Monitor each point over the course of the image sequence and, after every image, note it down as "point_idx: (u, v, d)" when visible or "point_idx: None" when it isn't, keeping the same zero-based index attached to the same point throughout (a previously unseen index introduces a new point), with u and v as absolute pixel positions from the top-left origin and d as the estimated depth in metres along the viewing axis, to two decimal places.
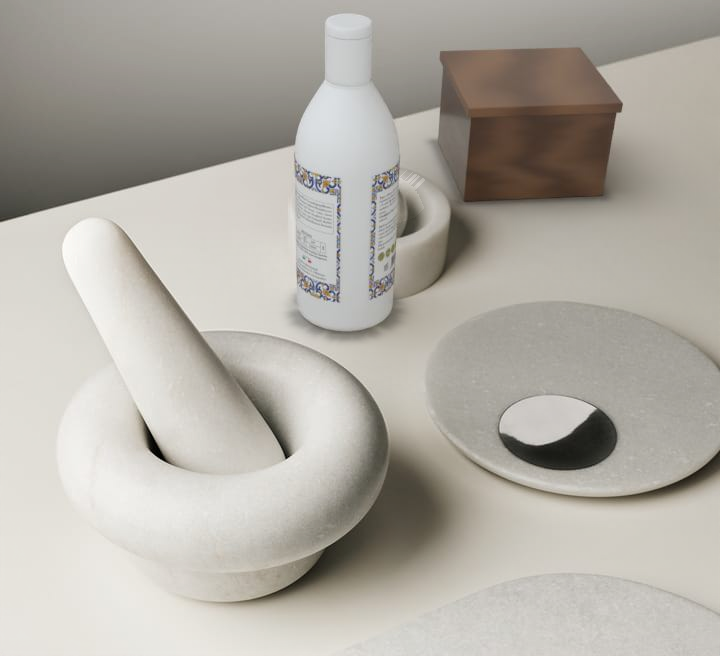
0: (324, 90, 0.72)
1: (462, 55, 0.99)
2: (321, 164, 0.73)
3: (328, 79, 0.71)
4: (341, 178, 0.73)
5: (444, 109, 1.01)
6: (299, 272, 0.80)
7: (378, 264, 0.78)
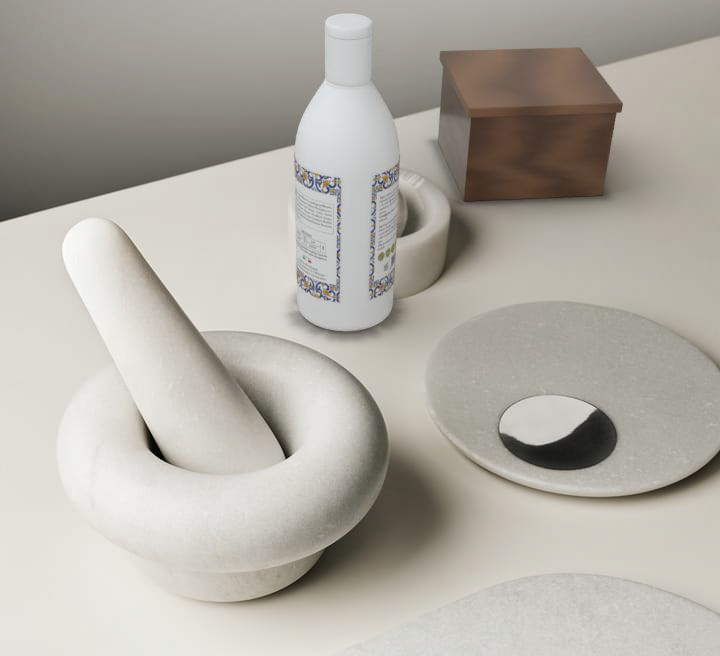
0: (324, 90, 0.72)
1: (462, 55, 0.99)
2: (321, 164, 0.73)
3: (328, 79, 0.71)
4: (341, 178, 0.73)
5: (444, 109, 1.01)
6: (299, 272, 0.80)
7: (378, 264, 0.78)
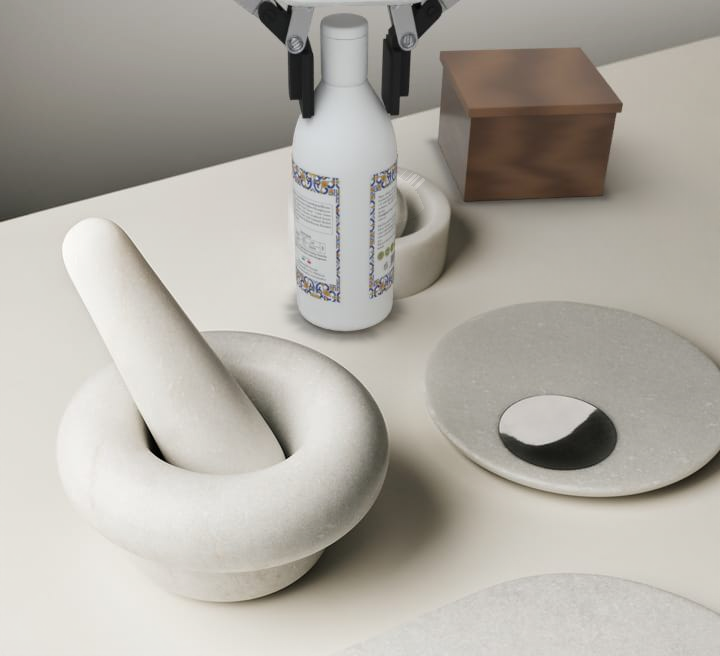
0: (321, 91, 0.72)
1: (462, 55, 0.99)
2: (319, 165, 0.73)
3: (325, 80, 0.71)
4: (340, 179, 0.73)
5: (444, 109, 1.01)
6: (299, 273, 0.79)
7: (378, 263, 0.78)
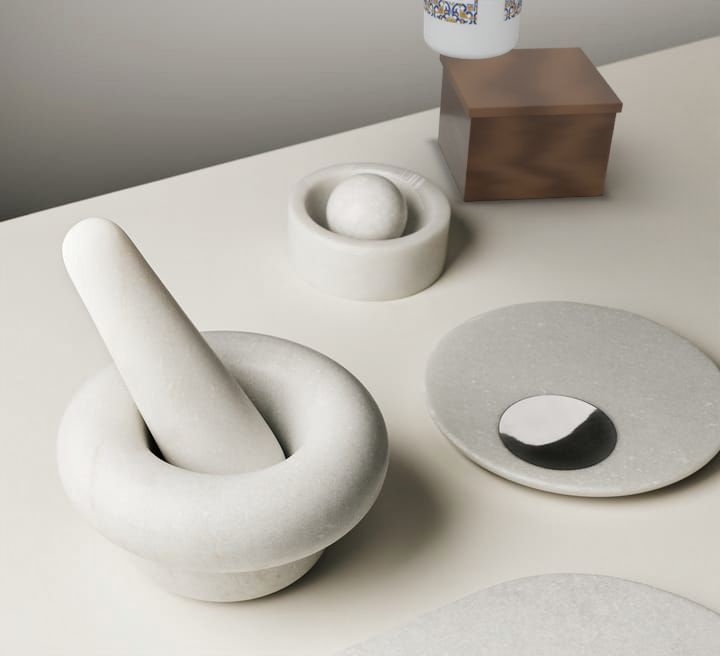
0: None
1: None
2: None
3: None
4: None
5: (444, 109, 1.01)
6: None
7: None
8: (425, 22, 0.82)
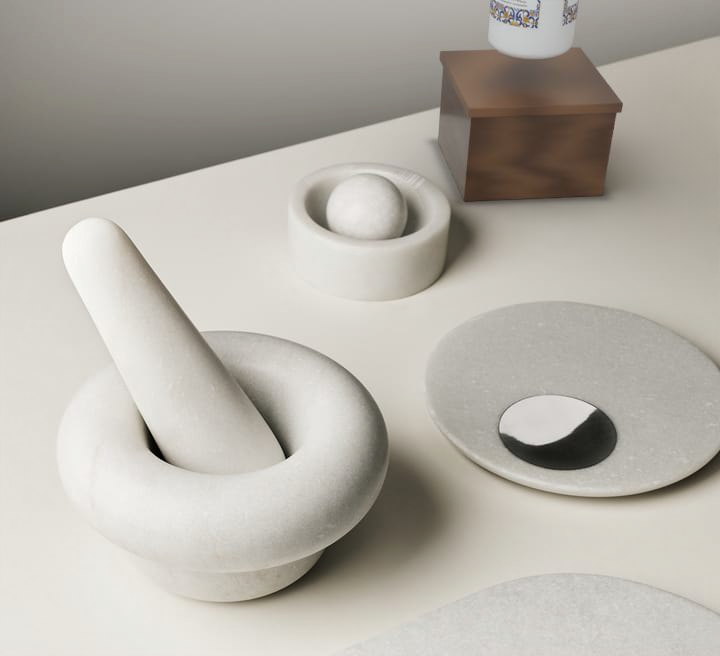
0: None
1: (462, 55, 0.99)
2: None
3: None
4: None
5: (444, 109, 1.01)
6: (498, 5, 0.90)
7: None
8: (490, 25, 0.92)
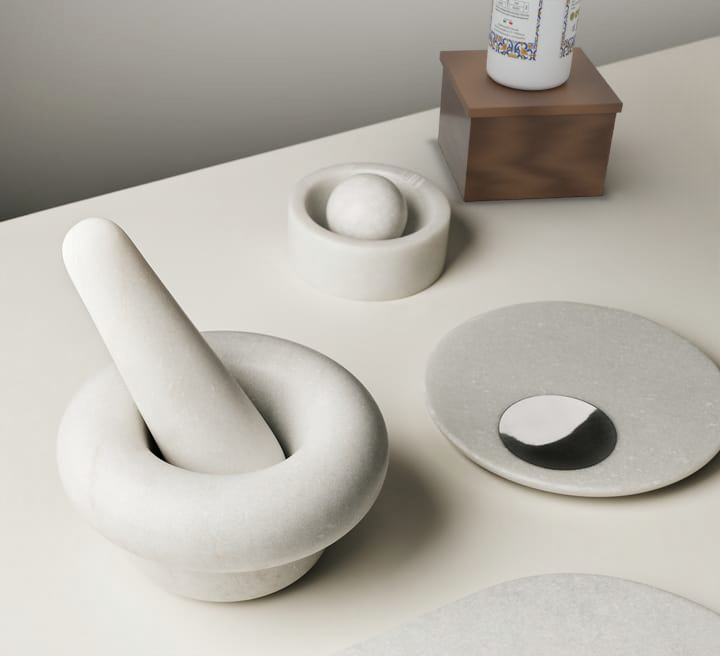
0: None
1: (462, 55, 0.99)
2: None
3: None
4: None
5: (444, 109, 1.01)
6: (497, 37, 0.92)
7: (569, 23, 0.90)
8: (489, 56, 0.94)
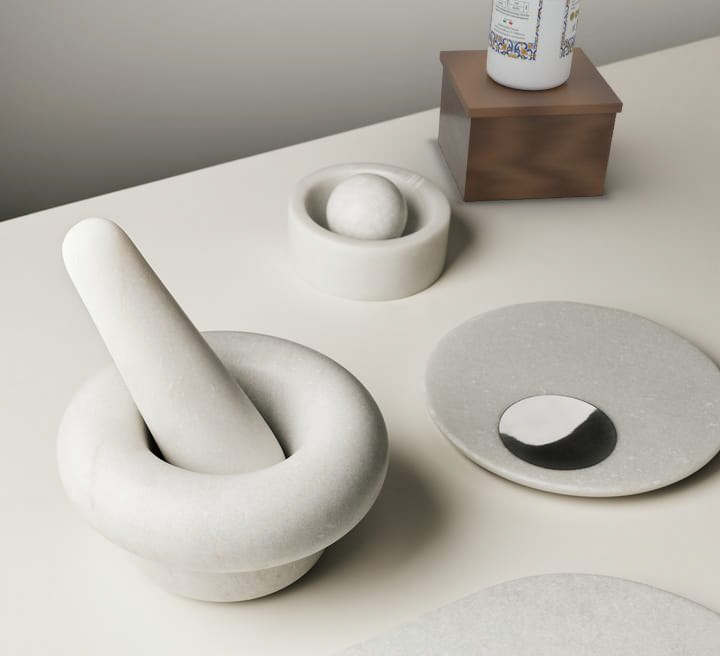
0: None
1: (462, 55, 0.99)
2: None
3: None
4: None
5: (444, 109, 1.01)
6: (497, 37, 0.92)
7: (569, 23, 0.90)
8: (489, 56, 0.94)
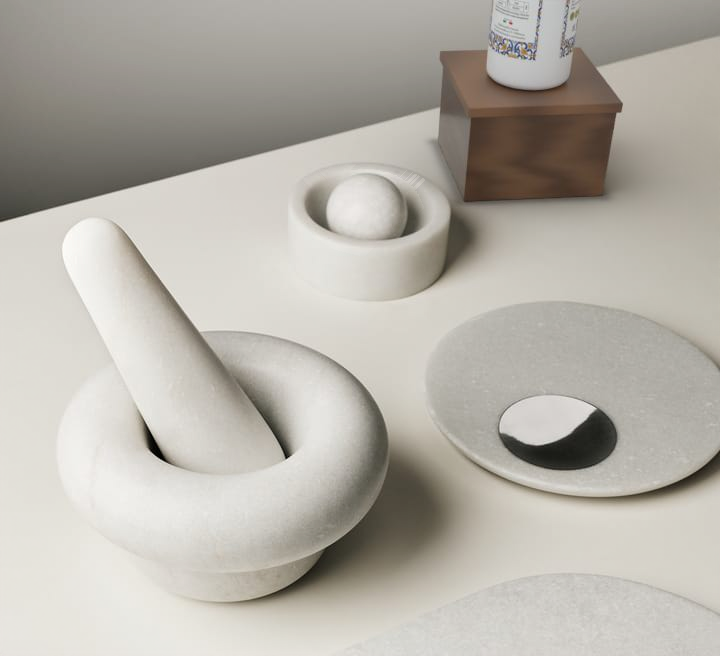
0: None
1: (462, 55, 0.99)
2: None
3: None
4: None
5: (444, 109, 1.01)
6: (497, 37, 0.92)
7: (569, 23, 0.90)
8: (489, 56, 0.94)
